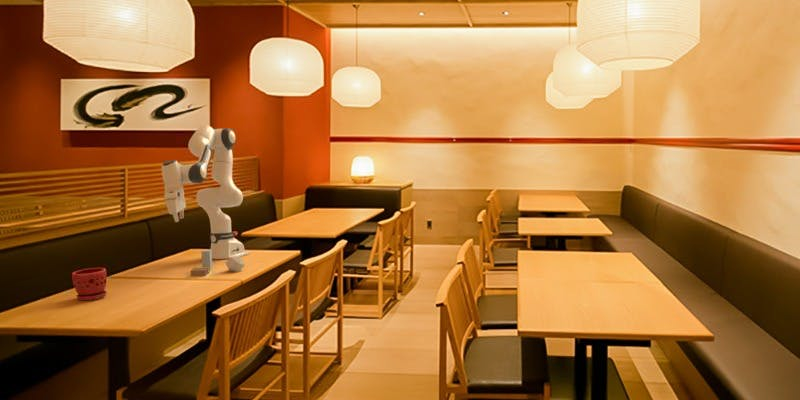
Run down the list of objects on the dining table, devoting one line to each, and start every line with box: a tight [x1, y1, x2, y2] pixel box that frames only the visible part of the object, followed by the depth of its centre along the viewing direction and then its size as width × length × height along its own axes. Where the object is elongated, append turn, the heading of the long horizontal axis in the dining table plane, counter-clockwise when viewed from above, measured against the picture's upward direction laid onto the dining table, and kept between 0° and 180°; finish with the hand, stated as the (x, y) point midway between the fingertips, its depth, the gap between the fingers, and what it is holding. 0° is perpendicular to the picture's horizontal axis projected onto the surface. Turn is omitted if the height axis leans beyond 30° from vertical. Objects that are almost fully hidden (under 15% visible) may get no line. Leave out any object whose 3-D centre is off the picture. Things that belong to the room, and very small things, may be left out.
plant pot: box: [71, 267, 108, 301], centre depth 280 cm, size 13×13×12 cm
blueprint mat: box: [188, 272, 212, 278], centre depth 324 cm, size 14×12×1 cm
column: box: [201, 249, 213, 271], centre depth 336 cm, size 4×4×10 cm
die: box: [225, 256, 246, 273], centre depth 331 cm, size 8×9×10 cm
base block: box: [190, 266, 211, 276], centre depth 323 cm, size 7×7×3 cm
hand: (179, 220), depth 334 cm, fingers open, 8 cm apart
